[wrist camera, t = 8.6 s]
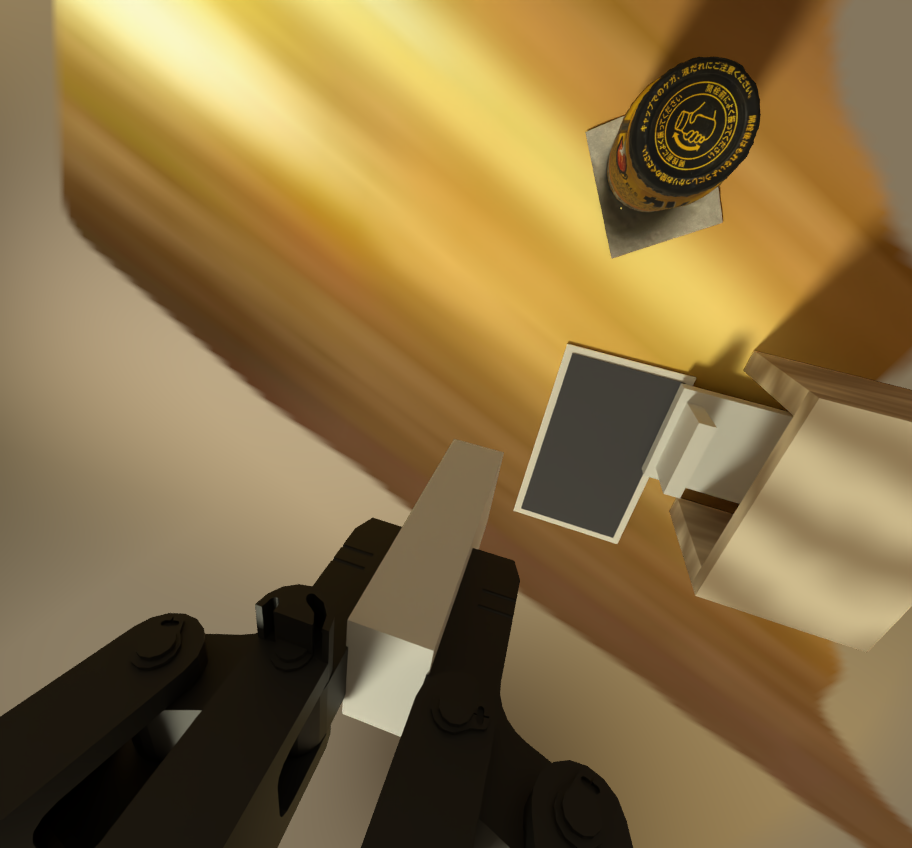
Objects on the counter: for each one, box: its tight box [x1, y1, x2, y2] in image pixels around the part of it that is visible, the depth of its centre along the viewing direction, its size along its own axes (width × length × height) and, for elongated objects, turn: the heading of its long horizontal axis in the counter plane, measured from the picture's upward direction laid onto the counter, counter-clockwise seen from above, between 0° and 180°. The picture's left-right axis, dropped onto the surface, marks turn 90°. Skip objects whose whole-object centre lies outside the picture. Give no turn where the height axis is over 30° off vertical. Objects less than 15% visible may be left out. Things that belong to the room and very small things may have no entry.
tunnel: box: [669, 351, 912, 652], centre depth 31 cm, size 15×11×10 cm
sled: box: [642, 383, 793, 504], centre depth 31 cm, size 8×25×7 cm, turn 78°
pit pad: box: [514, 343, 696, 544], centre depth 39 cm, size 17×10×1 cm, turn 168°
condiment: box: [586, 57, 761, 258], centre depth 25 cm, size 7×8×12 cm
